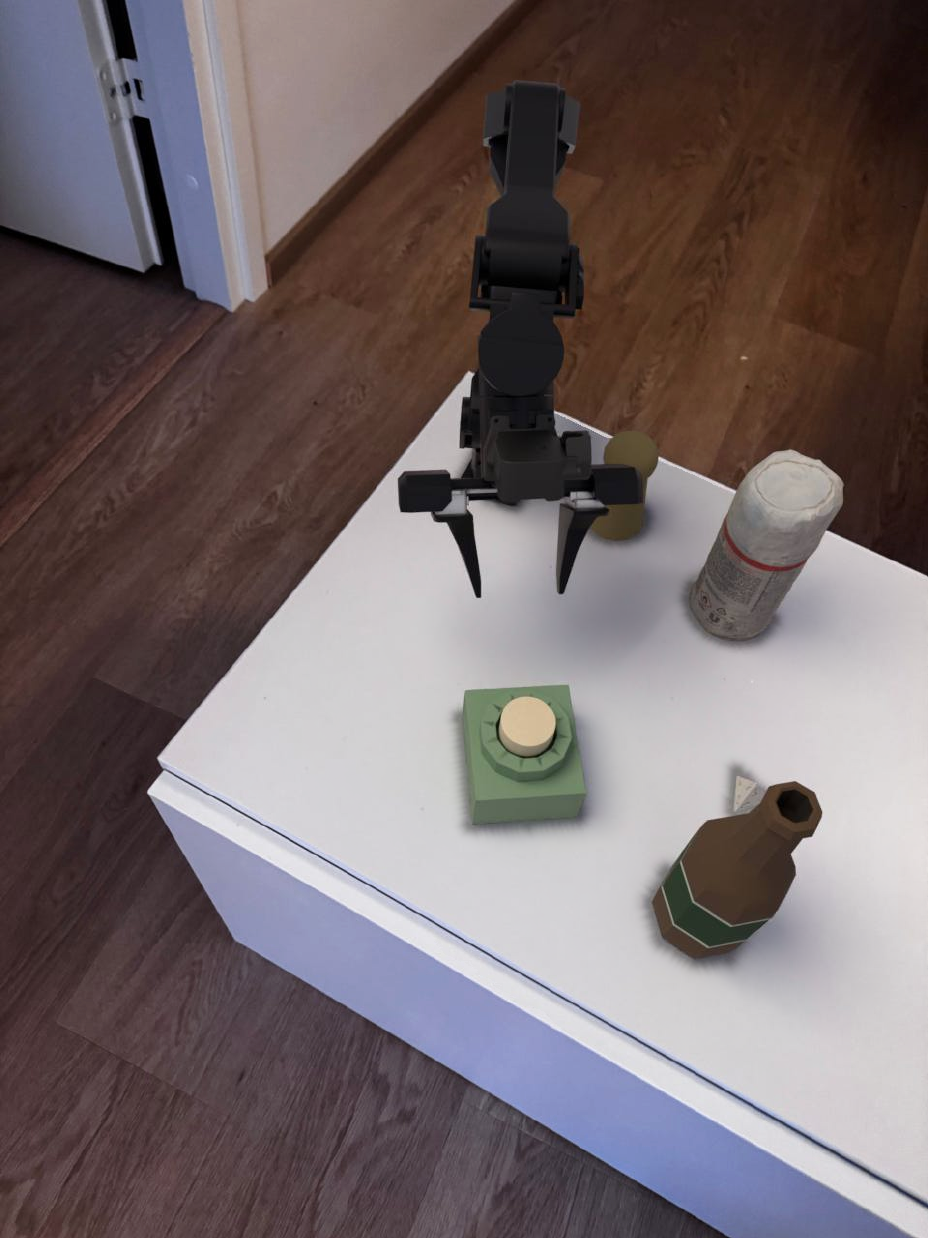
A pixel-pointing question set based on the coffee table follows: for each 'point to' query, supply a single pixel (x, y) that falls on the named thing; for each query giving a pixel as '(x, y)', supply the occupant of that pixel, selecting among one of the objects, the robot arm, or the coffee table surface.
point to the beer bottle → (735, 873)
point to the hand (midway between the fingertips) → (519, 595)
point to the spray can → (764, 543)
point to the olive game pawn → (644, 458)
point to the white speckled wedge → (746, 794)
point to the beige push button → (527, 726)
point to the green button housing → (521, 760)
